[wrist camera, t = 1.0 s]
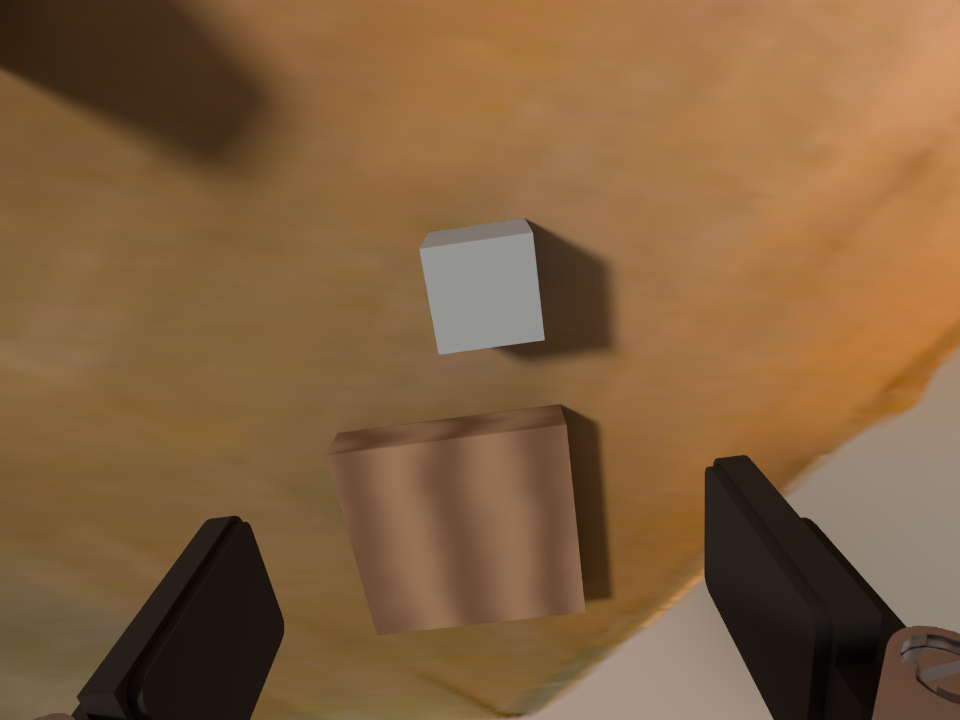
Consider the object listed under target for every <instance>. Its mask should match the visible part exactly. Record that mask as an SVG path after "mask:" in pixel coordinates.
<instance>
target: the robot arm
mask: <svg viewBox="0 0 960 720" xmlns="http://www.w3.org/2000/svg"><path fill="white" fill-rule="evenodd" d="M705 581H706V585H707V588H708V591H709V593H710V595H711V597H712V599H713V601H714V603H715V605H716V607H717V609H718V611H719V613H720V615H721V617H722V619H723V621H724V623H725V625H726V627H727V629H728V631H729V633H730V635H731V637H732V638H733V640H734V642H735V644H736V646H737V648H738V650H739V652H740V654H741V656H742V658H743V660H744V662H745V664H746V666H747V668H748V670H749V672H750V674H751V676H752V678H753V680H754V682H755V684H756V686H757V688H758V690H759V692H760V694H761V696H762V698H763V700H764V701H765V703H766V705H767V707H768V709H769V711H770V713H771V715H772V717H773V719H774V720H960V634H959V633H957V632H954V631H950V630H946V629H942V628H938V627H930V626H912V627H906V626H905V625H904V624H903V623H902V621H901V620H900V619H899V618H898V617H897V616H896V615H895V614H894V612H893V611H892V610H891V609H890V608H889V607H888V606H887V604H886V603H885V602H884V601H883V600H882V599H881V597H880V596H879V595H878V594H877V593H876V592H875V591H874V590H873V588H872V587H871V586H870V585H869V584H868V583H867V582H866V580H865V579H864V578H863V577H862V576H861V575H860V574H859V573H858V571H857V570H856V569H855V568H854V567H853V566H852V565H851V563H850V562H849V561H848V560H847V559H846V558H845V557H844V556H843V554H842V553H841V552H840V551H839V550H838V549H837V548H836V546H835V545H834V544H833V543H832V542H831V541H830V540H829V538H828V537H827V536H826V535H825V534H824V533H823V532H822V531H821V529H820V528H819V527H818V526H817V525H816V524H815V523H814V522H813V521H811V520H810V519H808V518H800V517H799V515H798V514H797V513H796V512H795V511H794V510H793V508H792V507H791V506H790V505H789V504H788V503H787V501H786V500H785V499H784V498H783V497H782V496H781V494H780V493H779V492H778V491H777V490H776V489H775V487H774V486H773V485H772V484H771V483H770V482H769V480H768V479H767V478H766V477H765V476H764V475H763V473H762V472H761V471H760V470H759V469H758V468H757V466H756V465H755V464H754V463H753V462H752V461H751V459H750V458H749V457H748V456H746V455H741V456H733V457H724V458H717V459H715V461H714V463H713V466H711V467H707V468H706V470H705ZM283 634H284V620H283V617H282V614H281V611H280V608H279V605H278V602H277V599H276V597H275V594H274V591H273V588H272V585H271V582H270V580H269V577H268V574H267V571H266V568H265V565H264V562H263V560H262V557H261V554H260V551H259V548H258V545H257V543H256V540H255V537H254V534H253V531H252V528H251V526H250V524H249V523H248V522H243V521H242V519H241V518H240V517H238V516H229V517H221V518H213V519H209V520H207V521H206V522H205V523H204V524H203V525H202V527H201V528H200V529H199V531H198V532H197V533H196V535H195V536H194V538H193V539H192V540H191V542H190V543H189V544H188V546H187V547H186V548H185V550H184V551H183V553H182V554H181V555H180V557H179V558H178V559H177V561H176V562H175V563H174V565H173V566H172V568H171V569H170V570H169V572H168V573H167V574H166V576H165V577H164V578H163V580H162V581H161V583H160V584H159V585H158V587H157V588H156V589H155V591H154V592H153V593H152V595H151V596H150V598H149V599H148V600H147V602H146V603H145V604H144V606H143V607H142V608H141V610H140V611H139V613H138V614H137V615H136V617H135V618H134V619H133V621H132V622H131V623H130V625H129V626H128V628H127V629H126V630H125V632H124V633H123V634H122V636H121V637H120V638H119V640H118V641H117V643H116V644H115V645H114V647H113V648H112V649H111V651H110V652H109V653H108V655H107V656H106V658H105V659H104V660H103V662H102V663H101V664H100V666H99V667H98V668H97V670H96V671H95V673H94V674H93V675H92V677H91V678H90V679H89V681H88V682H87V683H86V685H85V686H84V688H83V689H82V690H81V692H80V693H79V694H78V696H77V698H78V700H79V702H80V704H79V705H78V707H77V708H76V710H75V711H74V712H73V714H72V715H71V716H70V715H68V714H65V713H52V714H49V715H45V716H42V717H38V718H36V719H34V720H250V718H251V716H252V713H253V711H254V708H255V706H256V703H257V701H258V698H259V696H260V693H261V691H262V688H263V686H264V683H265V681H266V678H267V676H268V673H269V671H270V668H271V666H272V663H273V661H274V658H275V656H276V653H277V651H278V649H279V646H280V644H281V641H282V638H283Z"/></svg>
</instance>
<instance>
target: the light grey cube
mask: <svg viewBox="0 0 960 720" xmlns="http://www.w3.org/2000/svg"><path fill="white" fill-rule="evenodd" d="M420 255H421V260H422V266H423V271H424V276H425V282H426V287H427V293H428V298H429V304H430V309H431V314H432V320H433V325H434V331H435V336H436V342H437V347H438V352H439V355H440V354H447V353H454V352H462V351H469V350H476V349H484V348H491V347H498V346H506V345H513V344H520V343H528V342H535V341H542V340H545V338H544V329H543V320H542V311H541V302H540V293H539V284H538V275H537V266H536V257H535V247H534V238H533V232H532V230H531V228H530V227H529V225H528V223H527V222H526V220H525V218H523V219H516V220H510V221H503V222H496V223H489V224H483V225H476V226H469V227H462V228H456V229H449V230H442V231H436V232H429V234H428V235H427V237H426V239H425V240H424V242H423V244H422V246H421V247H420Z"/></svg>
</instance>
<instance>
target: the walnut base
mask: <svg viewBox="0 0 960 720" xmlns="http://www.w3.org/2000/svg"><path fill="white" fill-rule="evenodd" d="M327 458H328V462H329V466H330V469H331V473H332V476H333V480H334V483H335V487H336V491H337V494H338V498H339V501H340V505H341V508H342V512H343V516H344V519H345V523H346V526H347V530H348V533H349V537H350V541H351V544H352V548H353V551H354V555H355V558H356V562H357V566H358V569H359V573H360V576H361V580H362V583H363V587H364V591H365V594H366V598H367V601H368V605H369V608H370V612H371V616H372V619H373V623H374V626H375V630H376V633H377V635H383V634H392V633H401V632H411V631H420V630H429V629H438V628H447V627H456V626H465V625H474V624H483V623H492V622H501V621H510V620H519V619H528V618H537V617H546V616H556V615H565V614H574V613H583V612H585V603H584V593H583V583H582V573H581V563H580V554H579V544H578V534H577V524H576V514H575V504H574V494H573V484H572V474H571V464H570V455H569V445H568V435H567V425H566V421H565V418H564V415H563V412H562V408H561V405H552V406H544V407H537V408H529V409H521V410H514V411H506V412H498V413H491V414H483V415H475V416H468V417H460V418H452V419H444V420H437V421H429V422H421V423H414V424H406V425H398V426H391V427H383V428H375V429H368V430H360V431H352V432H345V433H337V435H336V437H335V439H334V441H333V443H332V445H331V447H330V449H329V451H328V453H327Z"/></svg>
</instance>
